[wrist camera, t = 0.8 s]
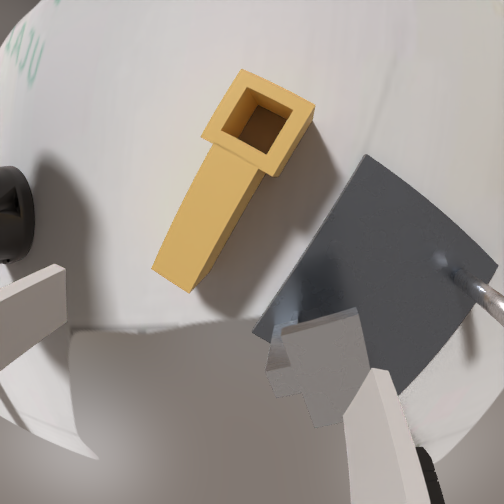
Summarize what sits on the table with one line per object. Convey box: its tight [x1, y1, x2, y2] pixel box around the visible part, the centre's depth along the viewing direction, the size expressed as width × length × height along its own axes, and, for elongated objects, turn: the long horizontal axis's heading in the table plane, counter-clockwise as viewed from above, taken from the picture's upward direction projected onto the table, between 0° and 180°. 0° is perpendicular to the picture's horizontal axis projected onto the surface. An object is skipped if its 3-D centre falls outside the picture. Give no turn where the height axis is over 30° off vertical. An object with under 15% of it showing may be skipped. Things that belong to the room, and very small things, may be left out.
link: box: [151, 69, 315, 293], centre depth 25 cm, size 18×6×6 cm, turn 149°
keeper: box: [265, 307, 370, 428], centre depth 25 cm, size 8×10×10 cm
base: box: [252, 154, 504, 395], centre depth 23 cm, size 20×21×11 cm
